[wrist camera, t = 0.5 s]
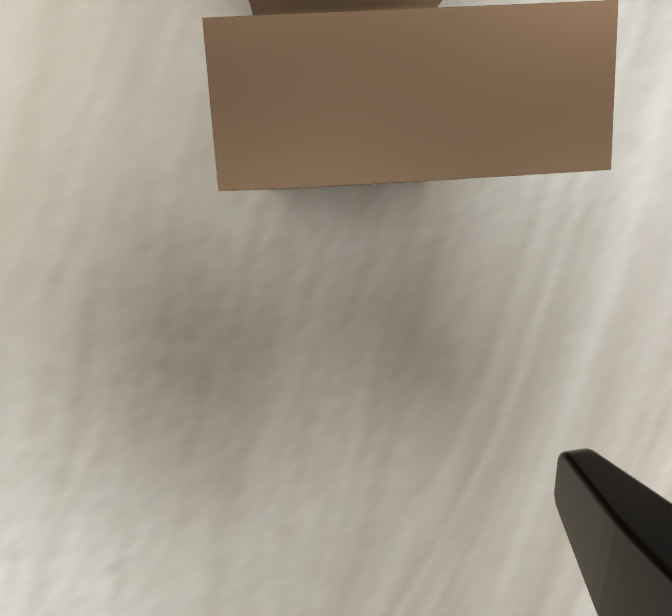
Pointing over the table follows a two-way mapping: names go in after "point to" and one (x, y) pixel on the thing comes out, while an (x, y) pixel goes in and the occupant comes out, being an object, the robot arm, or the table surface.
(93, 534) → the table surface
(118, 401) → the table surface
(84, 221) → the table surface
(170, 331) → the table surface
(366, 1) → the walnut domino
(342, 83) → the walnut domino
